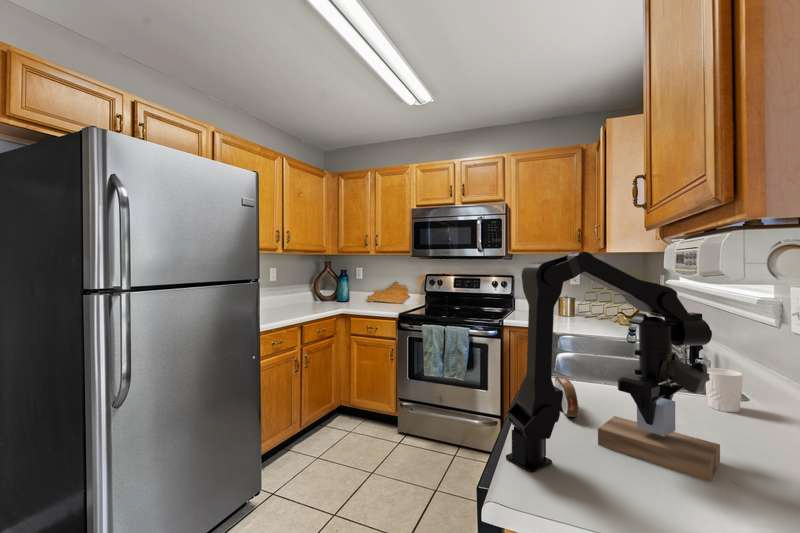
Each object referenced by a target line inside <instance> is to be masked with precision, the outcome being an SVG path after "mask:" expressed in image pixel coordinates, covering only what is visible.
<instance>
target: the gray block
mask: <svg viewBox="0 0 800 533" xmlns="http://www.w3.org/2000/svg"><path fill="white" fill-rule="evenodd" d="M636 422H637V428H640V429H643V430H646V431H649V432H652V433H655V434H658V435H661V436H666V435H668V434H670V433H672V432H676V401H674V400H673V399H672V400H668V399H664V398H660V399H659V400H657V402H656V409H655V415H654V421H653V425H649V424H646V422H645V420H644V418H643V416H642V414H641V412H640V411H639V409H638V407H637V406H636Z"/></svg>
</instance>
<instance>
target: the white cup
mask: <svg viewBox="0 0 800 533" xmlns="http://www.w3.org/2000/svg"><path fill="white" fill-rule="evenodd" d="M707 372H708V374H710V375H709V378H710V380H709V381H707V382H706V384H705V393H706V394H705V395H706V400H707V401H706V402H707V406H708V407H709V408H711V409H714V410H715V411H716V410H717V411H719V412H720V411H721V412H725V413H731V414H732V413H740V412H741V402H742V394H743V378H744V377H743V376H744V373H741V371H740V372H739V371H737V370H733V369H727V368H720V367H707Z"/></svg>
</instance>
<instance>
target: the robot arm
mask: <svg viewBox="0 0 800 533" xmlns="http://www.w3.org/2000/svg"><path fill="white" fill-rule="evenodd" d="M579 275H582V276H583V277H585V278H588V279H589V280H591V281H593V282H595V283H598V284H599V285H601V286H603V287H606V288H607V289H609V290H611V291H614V292H615V293H617V294H619V295H620V296H622V297H624V299H625V300H626V302H627V303H628V304H629V305H630V306H632V307H633V308H634V309H636V310H637V311H639V312H637V313H636V314H635V315H634V316H633V317H631V318H630V319H629V320H628V323H629V324H631V325H637V326H638V349H637V348H636V349H634V355H636V356H638V364H639V365H638V368H635V369H634V374H628V375H624V376H621V378H618V379H617V390H618V392H622V393H627V394H629V395H630V396H631V398H632V400H633V401H634V403H635V405H636V408H637V407H638V409H639V411H640V412H641V414H642V416H643V418H644V420H645V422H646V424H649V425H653V421H654V415H655V409H656V402H657V400H659V399H660V398H664V399H668V400H672V401H673V397H674V395H675V394H677V393H678V392H680V391H682V390H683V389H685V390H686V391H688V392H689V393H693V394H696V393H698V392H700V391H701V392H703V390H704V388H705V387H706V385H705V384H706V382H707V381H709V380H710V378H709V375H710V374H708V372H707V368H708V366H707V365H706V364H705V363H702V362H700V361H697V362H694V363H692V364H689V363H687V362H686V363H684V362H682V361H680V360H679V354H677V352H676V351H673V346H676V347H678V346H679V347H681V346H683V347H684V346H687V347H688V346H705V345H708V344H709V343H710V342H711V339H712V336H713V331H712V329H711V327H710V326H709V324H708V323H707V321H705V319H703V313H700V312H688V310H687V309H686V308H685V306H684V305H683V303H682V302H681V300H680V299H679V297H678V292H677V291H676V290H675V289H673V288H672V287H669V286H667V285H664V284H659V283H657V282H651V281H647V280H646V281H645V280H642V279H640V278H639V279H638V278H637V277H636V276H633V275H631V274H629V273H627V272H625V271H623V270H621V269H619V268H617V267H616V266H613V265H611V264H609V263H607V262H606V261H604V260H602V259H600V258H597V257H595V256H594V255H593V254H592V253H590V252H589V251H574V252H571V253H569V254H566V255H564V256H561V257H557V258H553V259H551V260H547V261H533V262H530V263H528V264H527V265H525V266H524V267H523V268H522V271H521V283H522V289H523V293H524V296H525V298H526V301H527V304H528V315H527V316H528V318H527V319H528V322H527V352H526V355H527V356H526V373H525V377H524V379H523V380H522V383H521V384H520V387H519V392H518V394H517V395H518V396H517V400H516V402H515V403H514V404H513V405H512V406H511V407H510V408H509V409H508V410H507V411H506V416H507V420H508V422H509V423H511V425H513V429H511V452H510V453H508V454H505V459H506V460H508V461H510V462H512V463H514V464H515V465H517V466H519V467H521V468H523V469H524V470H526V471H528V472H529V473H533V472H536V471H538V470H540V469H542V468H545V467H546V466H550V465H551V464H553V459H551V458H548V457H546V456H547V440H548V439H549V440H550V439H551V437H552V433H553V430H554V429H555V425H556V423H558V422H559V420H560V416H561V413H563V409H562V399H563V391H562V390H560V389H559V388H557V387H556V385H555V384H554V383H553V378H552V375H553V352H554V350H553V349H554V348H553V347H554V346H553V344H554V320H555V318H554V317H555V316H554V314H555V306H556V304H557V302H558V300H559V298H561V295H562V292H563V286H564V283H565V282H566V281H567V282H568V281H570V280H572V279H575V278H576V277H577V276H579ZM647 314H649V315H647ZM563 414H564V413H563Z"/></svg>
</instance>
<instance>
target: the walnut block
mask: <svg viewBox="0 0 800 533" xmlns="http://www.w3.org/2000/svg"><path fill="white" fill-rule="evenodd" d="M597 445H598V446H601V447H604V448H607V449H610V450H612V451H616V452H618V453H622V454H625V455H628V456H631V457H634V458H637V459H639V460H643V461H645V462H649V463H652V464H655V465H658V466H661V467H664V468H667V469H670V470H673V471H675V472H679V473H681V474H684V475H688V476H691V477H694V478H696V479H700V480H703V481H706V482H709V483H711V482H712V480H713V478H714V476H715V474H716V471H717V470H718V468H719V466H720V463H721V444H719V443H716V442H712V441H708V440H705V439H702V438H701V439H700V438H699V437H698V438H697V437H693V436H690V435H687V434H683V433H682V434H681V433H678V432H676V431H674V432H672V433H670V434H668V435H666V436H661V435H658V434H655V433H652V432H649V431H646V430H643V429H640V428H637V421H634V420H631V419H626V418H623V417H620V416H617V415H616V416H615V415H614V416H613V417H611V418H610V419H608V420H607V421H605V422H604V423H603V424H602V425H600V426H599V427H597Z"/></svg>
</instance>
